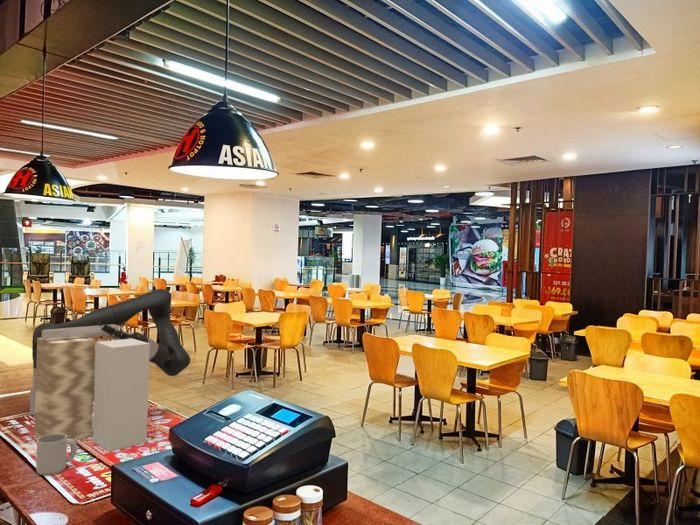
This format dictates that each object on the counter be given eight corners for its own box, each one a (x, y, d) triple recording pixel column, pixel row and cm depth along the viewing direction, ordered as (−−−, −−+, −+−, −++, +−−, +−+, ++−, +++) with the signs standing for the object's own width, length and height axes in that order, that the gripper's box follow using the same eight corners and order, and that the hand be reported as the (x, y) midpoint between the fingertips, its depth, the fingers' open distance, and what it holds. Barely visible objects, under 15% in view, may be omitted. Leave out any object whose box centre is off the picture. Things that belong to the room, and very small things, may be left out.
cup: (33, 468, 145) (34, 437, 145) (73, 460, 151) (74, 430, 151) (38, 477, 139) (39, 445, 139) (79, 469, 146) (80, 437, 146)
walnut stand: (48, 446, 161) (51, 343, 160) (34, 435, 170) (37, 337, 169) (91, 436, 171) (94, 339, 170) (76, 426, 179) (79, 334, 179)
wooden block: (46, 341, 163) (46, 331, 163) (41, 339, 166) (41, 329, 166) (118, 334, 180) (119, 325, 180) (113, 332, 183) (114, 324, 183)
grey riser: (109, 451, 159) (112, 347, 158) (92, 441, 166) (95, 342, 166) (146, 442, 167) (149, 343, 167) (129, 432, 175) (132, 338, 175)
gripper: (137, 334, 195) (97, 314, 184) (156, 339, 185) (115, 318, 174) (127, 352, 192) (86, 333, 181) (145, 359, 183) (103, 339, 172)
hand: (100, 326), depth 178 cm, fingers closed on wooden block, 4 cm apart
